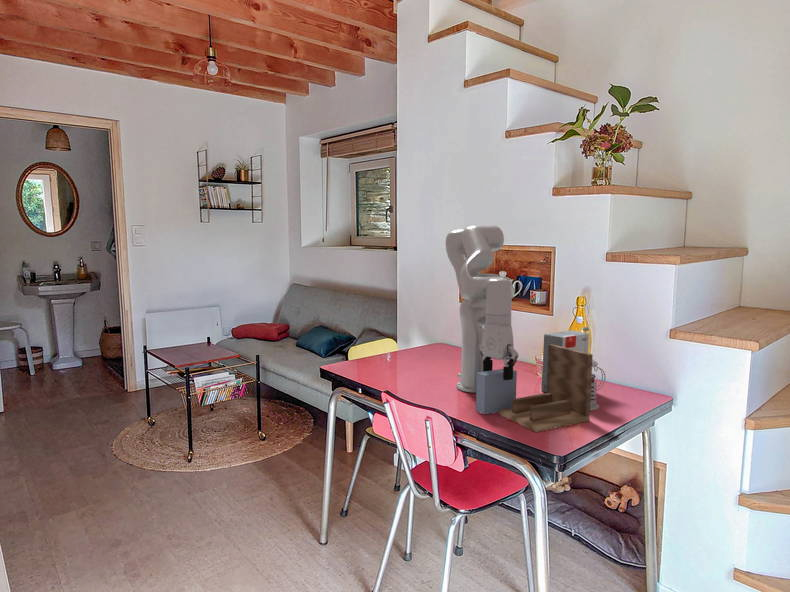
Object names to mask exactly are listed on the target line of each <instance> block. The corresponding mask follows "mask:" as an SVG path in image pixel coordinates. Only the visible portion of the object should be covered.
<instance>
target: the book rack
mask: <svg viewBox="0 0 790 592" xmlns="http://www.w3.org/2000/svg"><path fill="white" fill-rule="evenodd" d="M592 359H593V354H592V353H589V352H588V353H585V352H581V351H577V350H573V349H569V348H565V347H561V346H557V345H553V344H549V345H548V369H547V392H545V393H540V394H535V395H528V396H524V397H523V396H522V397H516V399H513V400H512V408H507V409H501V410H499V412H498V415H499V416H500V415H502V416H501V417H503V416H504V417H503V418H505V417H506V418H505V419H507V418H509V419H511V420H513V421H515V422H517V423H519V424H521V425H520V426H522V425H523V426H522V427H524V426H525V427H524V428H526V427H527V428H526V429H528V428H529V429H528V430H530V429H531V430H530V431H532V430H533V431H532V432H534V431H535V433H540V432H539V431H541V432H543V431H542V430H545V431H547V430H546V429H550V430H552V429H551V428H554V429H556V428H555V427H559V428H561V427H560V426H564V427H566V426H565V425H568V426H571V425H570V424H573V425H576V423H577V424H582V423H586V422H589V421H590V419H591V418H590V417H591V410H590V400H591V378H592V374H593V373H592V372H593V367H592ZM509 419H508V420H509ZM511 420H510V421H511ZM513 421H512V422H513ZM515 422H514V423H515ZM581 422H582V423H581ZM517 423H516V424H517ZM519 424H518V425H519Z"/></svg>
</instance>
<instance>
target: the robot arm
mask: <svg viewBox="0 0 790 592" xmlns="http://www.w3.org/2000/svg"><path fill="white" fill-rule="evenodd" d="M504 243H505V236H504V232H503V230H502V229H501V228H500V227H499V226H496V225H471V226H467V227H466V228H465V229H455V230H452V231H450V232H449V233H447V235H446V237H445V250H446V254H447V257H448V260H449V262H450V264H451V266H452V268H453V269H454V273H455V277H456V282H457V285H458V291H459V295H460V296H461V298H463V299H464V300H463V301H462V302H461V303H460V305H459V317H460V324H461V325H460V326H461V372H459V373H457V375H456V376H457V377H458V378H460V381H458V382H457V383H456V388H457V389H458V390H460V391H462V392H464V393H465V392H466V393H475V394H476V388H477V373H478V372H484V371H491V370H493V368H494V367H493V365H494V363H493V360H500V361H501V360H502V362H503V365H504V366H503V368H502V369H503V380H512V379H513V370H514V367H515V365H516V363H517V362H518V361H517V360H518V358H519V352H518V351H517V350H516V349H515V347H514V335H513V327H512V303H513V302H512V300H513V299H512V293H513V290H512V289H513V288H512V287H513V286H512V285H513V284H512V281H511V280H510V279H507V278H505V277H501V275H499V274H497V273H481V271H484V270H485V269H487V268H489V267H490V266H491V265H492V264H493V262H494V252H497V251H499V250H501V249H502V248H503V247H504Z"/></svg>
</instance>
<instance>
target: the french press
mask: <svg viewBox="0 0 790 592" xmlns="http://www.w3.org/2000/svg"><path fill="white" fill-rule="evenodd" d="M588 331H590V329H589V327H587V326H584V327H582V332H584V333H585V343H586V333H587V332H588ZM598 365H599V363H598V362H597V361H596V360H594V359H593V358H592V368H593V370H594V372H598V369H599V371H600V372H601V381H600V382H599V385H597V380H596V379H595V378H596V375H595V374H594V373H592V378H591V400H590V411H595V410H598V409H599V408H600V406H599V405H598V404H597V391H599V390H600V389H602V388H603V387H604V385H605V382H606V373H605V371H604V369H603V368H601V367H599V366H598ZM603 376H604V377H603ZM600 386H601V387H600ZM598 387H599V388H598Z"/></svg>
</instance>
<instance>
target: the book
mask: <svg viewBox="0 0 790 592" xmlns="http://www.w3.org/2000/svg"><path fill="white" fill-rule="evenodd" d="M517 374H518V372H517V370H515V369H513V379H512V380H503V368H501V369H492V370H491V371H484V372H478V373H477V388H476V393H475V394H476V395H475V397H476V399H475V400H476V401H475V402H476V403H475V405H476V406H475V412H477V411H478V412H477V413H479V412H481V413H482V414H481V413H480V414H481V415H483V414H487V415H490V414H489V413H492V414H495V413H494V412H497V413H499V410H501V409H507V408H512V400H513V399H516V398H517V378H518V377H517Z"/></svg>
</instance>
